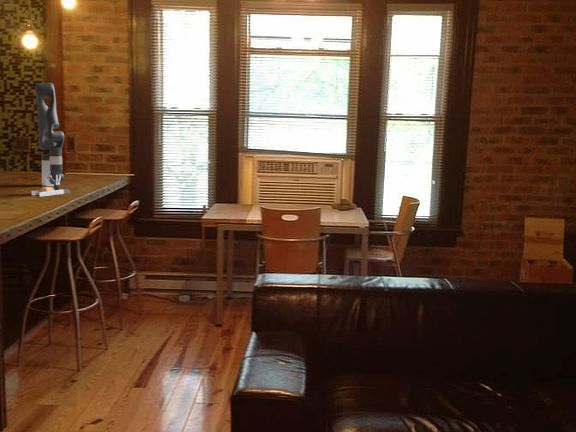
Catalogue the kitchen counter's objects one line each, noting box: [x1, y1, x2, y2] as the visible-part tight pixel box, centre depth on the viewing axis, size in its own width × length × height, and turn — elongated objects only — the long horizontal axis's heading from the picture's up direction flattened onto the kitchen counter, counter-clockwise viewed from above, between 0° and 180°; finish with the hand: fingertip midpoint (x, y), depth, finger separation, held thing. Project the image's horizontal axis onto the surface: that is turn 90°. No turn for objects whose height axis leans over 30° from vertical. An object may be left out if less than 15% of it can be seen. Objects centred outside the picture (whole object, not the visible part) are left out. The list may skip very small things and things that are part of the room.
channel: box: [31, 188, 64, 198], centre depth 416 cm, size 18×8×2 cm, turn 149°
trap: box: [59, 188, 71, 195], centre depth 426 cm, size 5×8×2 cm, turn 59°
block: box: [41, 186, 54, 192], centre depth 415 cm, size 4×4×4 cm
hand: (56, 190), depth 422 cm, fingers closed
